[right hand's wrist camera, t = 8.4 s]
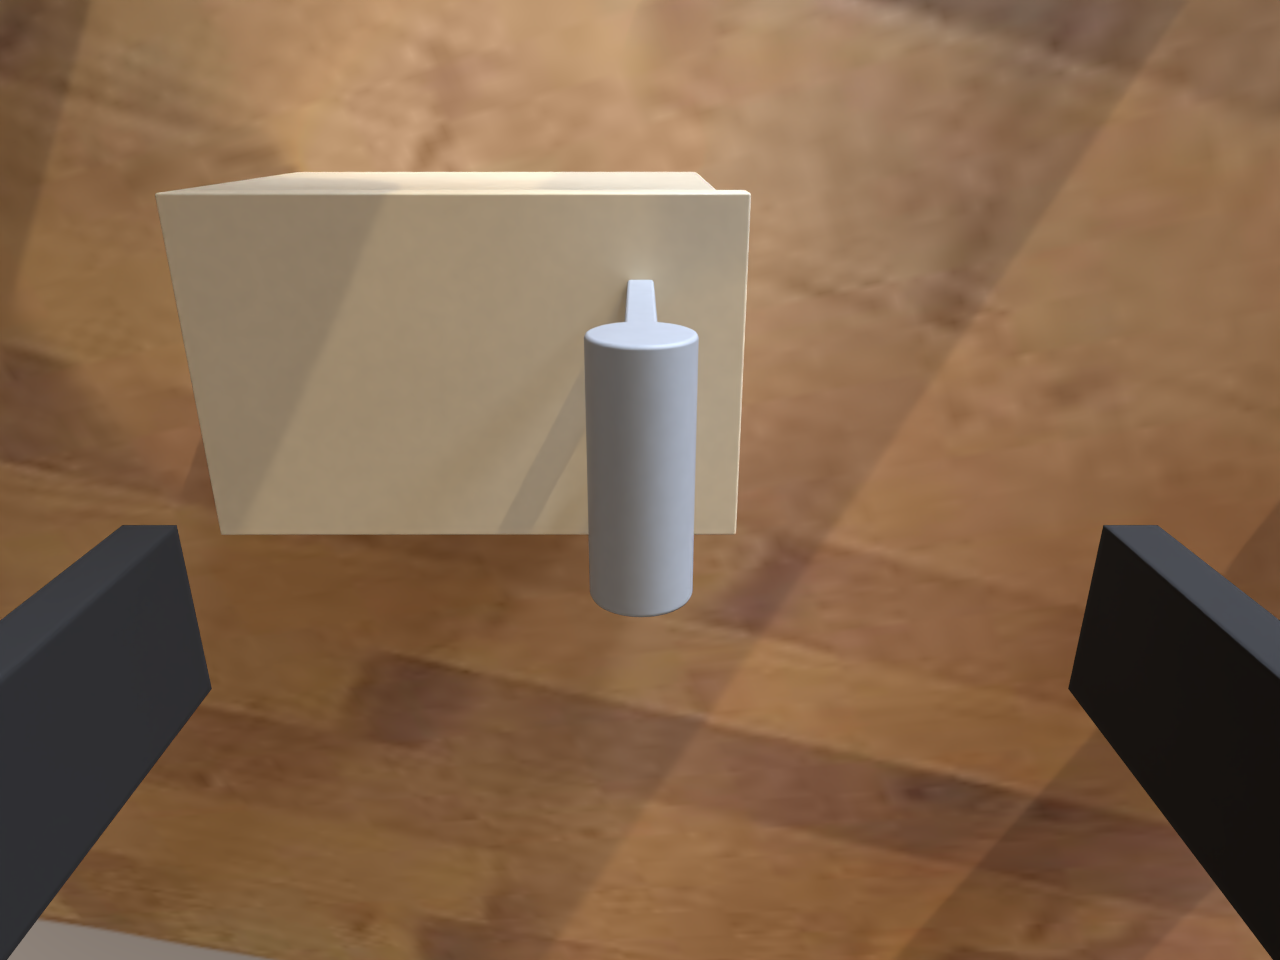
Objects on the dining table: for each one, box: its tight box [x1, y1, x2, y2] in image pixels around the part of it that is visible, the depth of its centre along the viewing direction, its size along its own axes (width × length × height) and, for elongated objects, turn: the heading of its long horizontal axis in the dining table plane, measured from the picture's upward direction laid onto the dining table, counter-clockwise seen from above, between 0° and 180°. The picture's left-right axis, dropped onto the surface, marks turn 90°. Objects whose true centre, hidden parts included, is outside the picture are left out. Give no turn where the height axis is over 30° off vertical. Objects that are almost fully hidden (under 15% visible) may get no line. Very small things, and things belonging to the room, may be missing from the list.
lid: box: [155, 190, 751, 617], centre depth 21 cm, size 15×10×9 cm, turn 90°
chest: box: [181, 172, 715, 190], centre depth 30 cm, size 14×10×9 cm, turn 90°
